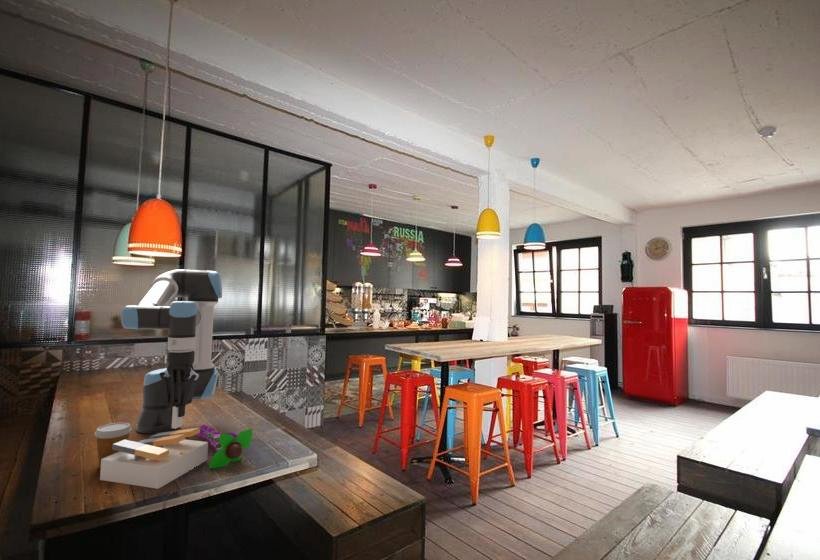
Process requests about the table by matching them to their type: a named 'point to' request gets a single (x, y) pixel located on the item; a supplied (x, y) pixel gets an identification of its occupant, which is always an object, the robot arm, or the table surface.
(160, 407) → the robot arm
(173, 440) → the rocker mid
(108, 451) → the disposable coffee cup
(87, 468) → the table surface
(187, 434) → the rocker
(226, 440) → the potted plant
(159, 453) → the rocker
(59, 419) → the table surface
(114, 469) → the switch box
